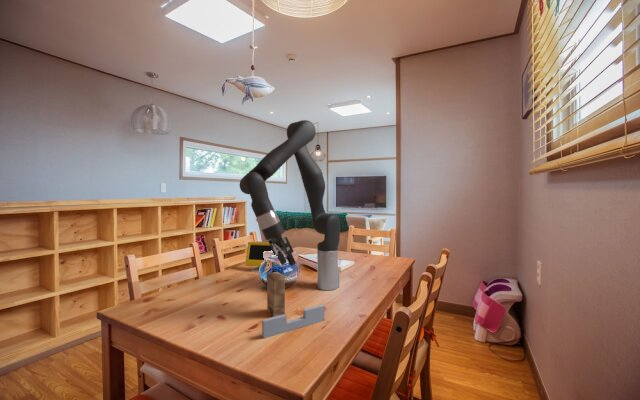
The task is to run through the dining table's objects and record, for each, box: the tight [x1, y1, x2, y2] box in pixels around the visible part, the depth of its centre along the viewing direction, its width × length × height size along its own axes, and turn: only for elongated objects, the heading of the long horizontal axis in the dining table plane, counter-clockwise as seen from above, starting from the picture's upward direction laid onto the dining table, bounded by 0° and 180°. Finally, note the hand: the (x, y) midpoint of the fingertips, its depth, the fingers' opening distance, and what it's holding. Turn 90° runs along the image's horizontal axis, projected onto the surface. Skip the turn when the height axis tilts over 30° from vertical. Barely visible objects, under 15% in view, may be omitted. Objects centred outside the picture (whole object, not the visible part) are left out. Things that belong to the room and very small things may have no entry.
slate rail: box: [261, 304, 326, 339], centre depth 97 cm, size 22×2×5 cm, turn 124°
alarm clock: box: [244, 241, 272, 272], centre depth 165 cm, size 20×8×16 cm, turn 80°
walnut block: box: [266, 271, 286, 317], centre depth 108 cm, size 4×6×14 cm, turn 34°
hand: (288, 264), depth 112 cm, fingers open, 8 cm apart
